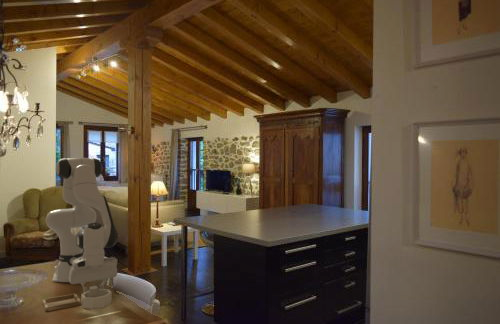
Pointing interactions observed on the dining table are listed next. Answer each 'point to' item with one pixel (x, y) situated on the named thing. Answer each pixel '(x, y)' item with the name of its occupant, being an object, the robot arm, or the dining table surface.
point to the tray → (61, 302)
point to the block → (93, 291)
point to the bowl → (96, 299)
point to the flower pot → (98, 283)
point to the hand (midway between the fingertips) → (93, 290)
